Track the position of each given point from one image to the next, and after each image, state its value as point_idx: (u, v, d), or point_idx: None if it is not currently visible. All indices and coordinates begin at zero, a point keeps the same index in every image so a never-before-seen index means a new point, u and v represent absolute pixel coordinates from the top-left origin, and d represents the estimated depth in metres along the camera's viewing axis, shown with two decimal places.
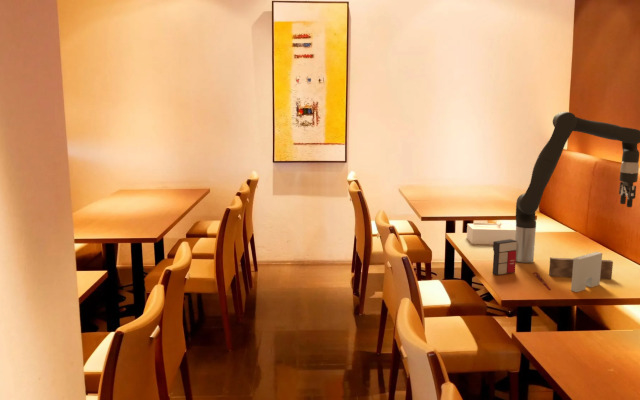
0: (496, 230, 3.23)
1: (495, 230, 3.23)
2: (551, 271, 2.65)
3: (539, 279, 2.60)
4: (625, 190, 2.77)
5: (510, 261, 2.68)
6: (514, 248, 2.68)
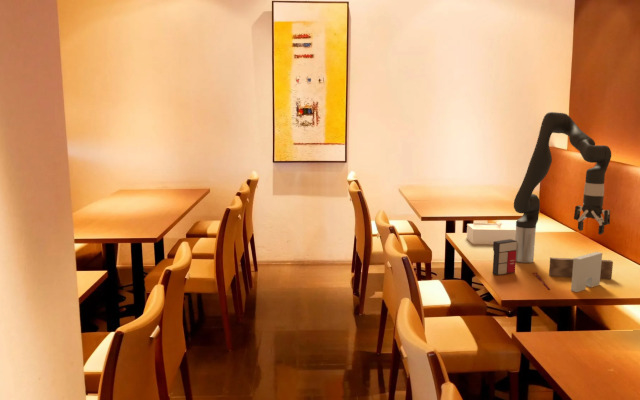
0: (496, 230, 3.23)
1: (495, 230, 3.23)
2: (551, 271, 2.65)
3: (538, 279, 2.60)
4: (595, 215, 2.42)
5: (510, 261, 2.68)
6: (514, 248, 2.68)
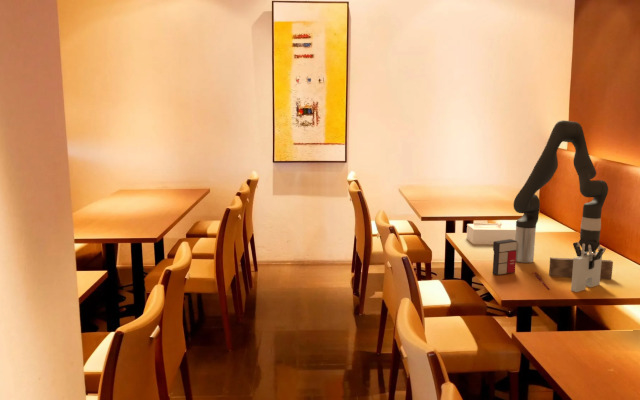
0: (497, 230, 3.23)
1: (496, 230, 3.23)
2: (551, 271, 2.65)
3: (538, 279, 2.60)
4: (589, 250, 2.45)
5: (510, 261, 2.68)
6: (514, 248, 2.68)
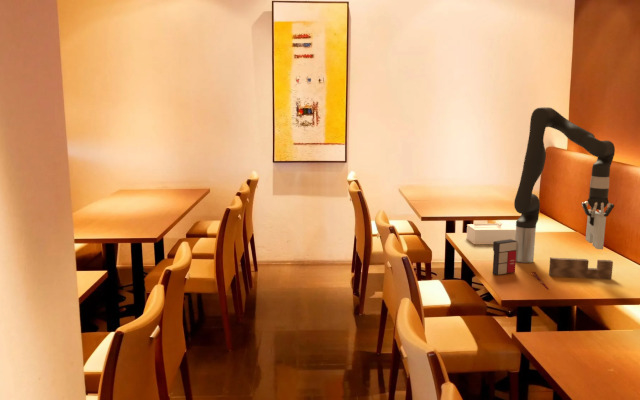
0: (498, 230, 3.23)
1: (497, 230, 3.23)
2: (551, 271, 2.65)
3: (537, 278, 2.60)
4: (601, 207, 2.57)
5: (510, 261, 2.68)
6: (514, 248, 2.68)
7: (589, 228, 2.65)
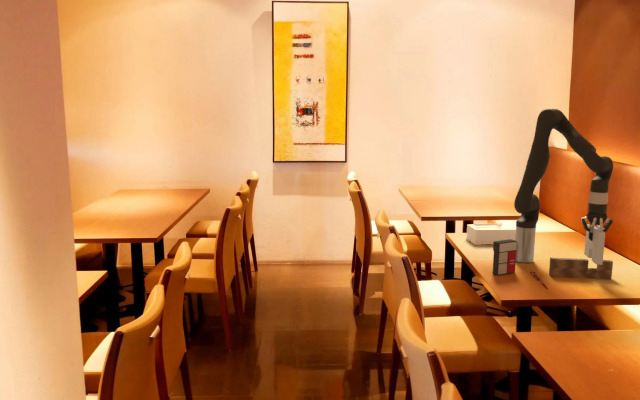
0: (498, 230, 3.23)
1: (497, 230, 3.23)
2: (551, 271, 2.65)
3: (536, 278, 2.61)
4: (600, 223, 2.58)
5: (510, 261, 2.68)
6: (514, 248, 2.68)
7: (587, 243, 2.67)
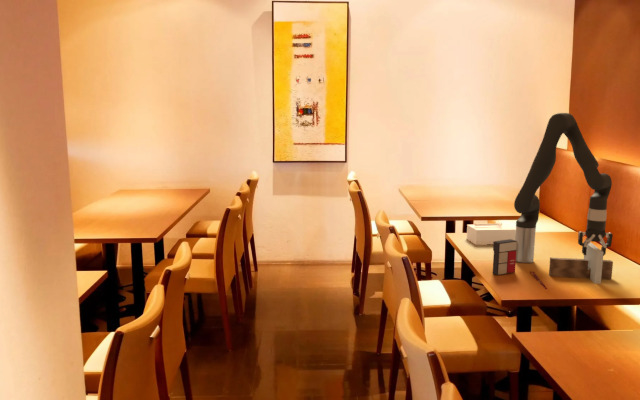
0: (499, 230, 3.23)
1: (498, 230, 3.23)
2: (551, 271, 2.65)
3: (536, 278, 2.61)
4: (601, 239, 2.59)
5: (510, 261, 2.68)
6: (514, 248, 2.68)
7: None
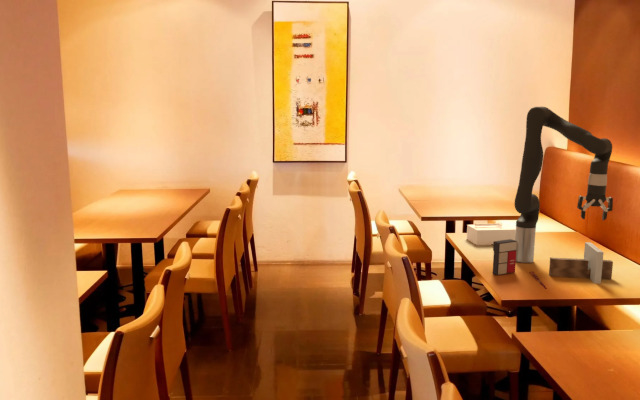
0: (499, 230, 3.23)
1: (498, 230, 3.23)
2: (551, 271, 2.65)
3: (535, 278, 2.61)
4: (601, 203, 2.61)
5: (510, 261, 2.68)
6: (514, 248, 2.68)
7: None
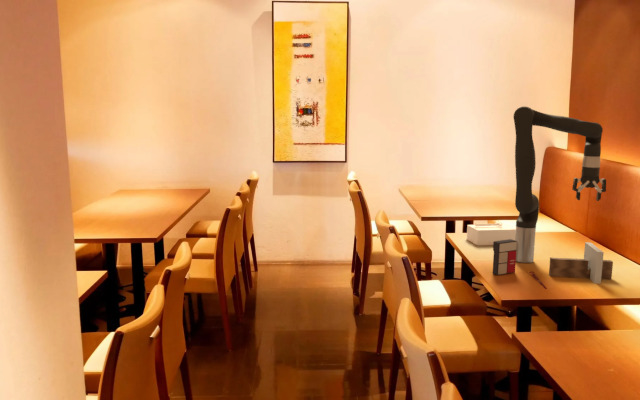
0: (500, 230, 3.23)
1: (499, 230, 3.23)
2: (551, 271, 2.65)
3: (535, 278, 2.61)
4: (595, 185, 2.73)
5: (510, 261, 2.68)
6: (514, 248, 2.68)
7: None
